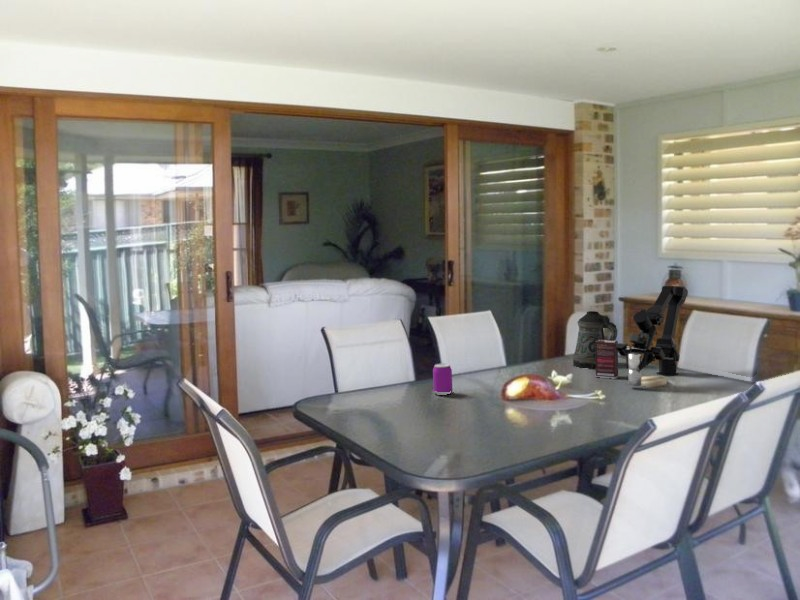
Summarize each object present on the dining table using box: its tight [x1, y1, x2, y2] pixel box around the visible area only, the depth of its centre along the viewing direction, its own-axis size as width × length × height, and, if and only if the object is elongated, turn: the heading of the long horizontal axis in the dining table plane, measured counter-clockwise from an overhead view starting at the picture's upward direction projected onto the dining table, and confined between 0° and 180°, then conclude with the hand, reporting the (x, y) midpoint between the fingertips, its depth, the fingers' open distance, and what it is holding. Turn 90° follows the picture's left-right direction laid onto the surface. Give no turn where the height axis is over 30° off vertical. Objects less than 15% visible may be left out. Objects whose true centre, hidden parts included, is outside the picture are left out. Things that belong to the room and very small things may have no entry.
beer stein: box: [572, 310, 618, 370], centre depth 335 cm, size 16×19×25 cm
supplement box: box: [595, 339, 619, 380], centre depth 312 cm, size 9×5×16 cm, turn 58°
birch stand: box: [639, 375, 668, 388], centre depth 299 cm, size 12×12×2 cm
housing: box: [627, 353, 643, 387], centre depth 291 cm, size 5×5×12 cm
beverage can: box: [432, 363, 453, 392], centre depth 296 cm, size 8×8×12 cm
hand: (633, 368), depth 290 cm, fingers closed on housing, 5 cm apart
